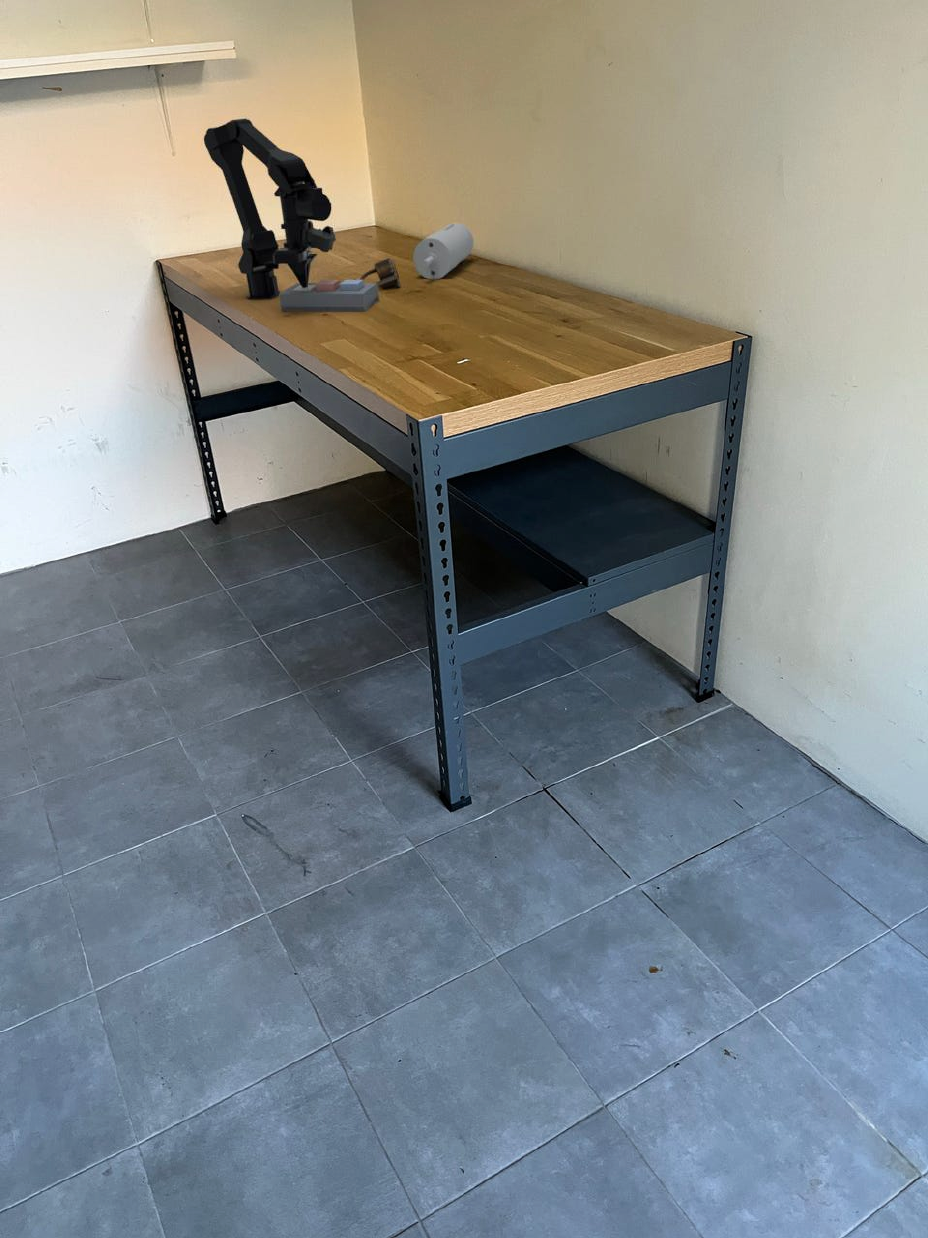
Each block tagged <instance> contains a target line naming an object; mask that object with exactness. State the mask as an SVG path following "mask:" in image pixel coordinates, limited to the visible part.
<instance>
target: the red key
mask: <svg viewBox="0 0 928 1238" xmlns="http://www.w3.org/2000/svg"><path fill="white" fill-rule="evenodd" d="M316 283H317V284H316V288H317V291H336V290H337V289H338V288H340V283H341V280H340V279H322V280H320V281H319V282H316Z"/></svg>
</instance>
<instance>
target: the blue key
mask: <svg viewBox="0 0 928 1238" xmlns="http://www.w3.org/2000/svg"><path fill="white" fill-rule="evenodd" d="M340 283H341V284H340V290H341V291H359V290H361V289H362V288H364V283H365V282H364V280H360V279H356V280H353V279H345V280H343V281H342V282H340Z"/></svg>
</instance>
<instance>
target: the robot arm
mask: <svg viewBox="0 0 928 1238" xmlns="http://www.w3.org/2000/svg"><path fill="white" fill-rule="evenodd" d="M203 143H204V146H205V148H206V150H207V153H208V155H209V157H210V159H211V161H212V162H214V164H216V166H217V167H218V168H219V169H220V170H221V172H222V174H223V176H224V179H225V182H226V185H227V188H228V190H229V194H230V196H231V199H232V202H233V205H234V208H235V211H236V213H237V214H236V215H237V218H238V220H239V222H240V225H241V229H242V232H243V233H242V238H241V242H240V244H241V249H242V255H241V256H240V259H239V261H238V264H237V266H238V270H239V272H240V273H241V274H244V275H246V281H247V288H248V293H249V294H248V295H247V297H246V299H248V300H249V299H250V300H251V299H254V300H259V299H260V300H261V299H265V300H266V299H267V300H270V299H272V298H274V297H276V296H277V295H279V294H280V293H281V292H280V290H279V285H278V278H277V276H276V275H275V272H274V271H275V270H278V269H279V266H280V265H281V264H282V265H288V267H289V269H290V270H291V272H292V273H293V274H294V276H295V278H296V279H297V281H298V283H300V284H301V286H302V287H303V288H306V287H308V283H309V281H310V280H309V278H310V271H311V264H312V263H313V261H314V260H315V258H317V256H318V253H312V250H311V249H317V250H320V252H323V253H328V252H329V251H330V250H331V251H332V250H333V246H334V242H336V241H337V238H336V234H335V233H334V228H333V227H331V226H329V225H326V226H324V227H323V228H316V227H314V223H313V221H318V222H324V221H326V220H327V219H329V218H330V216H331V214H332V202H331V201H330V198H329V197H328V196H327V195H326V194H324V193H323V188H322V187H318V185H317V183H316V180H315V179H314V177H312V175H311V173H310V171H309V169H308V167H307V165H306V163H305V161H304V160H303V159H302V158H301V157H300V156H298V155H296V154H294V153H293V152H289V151H286V150H282V149H281V148H279V147H278V146H277V145H276V144H275V143H273V142H272V140H270V139H269V138H268V137H267V136H266V135H265V134H264V133H263V132H261V131H260V130H259V129H258V128H257V127H256V126H255V125H253V122H252V121H251V120H250V119H248V118H237V119H231V120H230V121H228V122H226V123H225V124H222V125H220V126H215V127H210V128H208V129H207V130H206V131H205V134H204V136H203ZM244 148H245V149H246V150H248V151H249V153H251V154H252V155H253V156H254V158H256V159H258V160H259V161H260V162H261V163H262V164H263V165H264V166H265V168H266V169H267V175H268V176H269V178H270V179H271V180H272V181H273V182H274V184H275V185H276V186H277V187H278V188H277V189H276V190H275V192H274V193H273V195H274V197H279V198H280V206H281V212H282V219H283V220H282V221H283V222H282V223H281V224H280V228H281V230H284V233H285V242H283V247H280V246H279V244H278V242H277V240H276V239H277V238H276V235H275V232H274V231H273V230H272V229H269V230H268V229H267V228H266V227H265V226H264V225H263V222H262V220H261V217H260V214H259V211H258V208H257V205H256V201H255V199H254V196H253V193H252V191H251V187H250V185H249V181H248V178H247V175H246V172H245V170H244V169H245V168H244V166H243V158H244V153H245V149H244ZM279 247H280V248H279Z"/></svg>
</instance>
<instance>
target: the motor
mask: <svg viewBox="0 0 928 1238" xmlns="http://www.w3.org/2000/svg"><path fill="white" fill-rule="evenodd" d="M473 248H474V238H473V234H472V232H471V231H470V229H468V227H467V226H465V225H464V224H461V223H458V222H454V223H450V224H447V225H446V226H445V227H443V228H441V229H440V230H438V231H436V232H433V233H432V234H431V235H429V236H427V237H426V238H424V239H423V240H421V241H420V242H418V244H417V245H416V246H415V249H414V250H413V251H414V252H413V257H412V258H413V260H412V261H413V265H414V267H415V270H416V271H417V273H419V275H421V276H422V277H423V278H425V279H428V280H439V279H442V278H443V277H445V276H446V275H447V274H449V273H450V272H451V271H452V270H453V269H455V268H456V267H457V266H458V265H459V264H460V263H461V262H463V261H464V260H465V259H466V258H468V257H469V255H470V254H471V253H472V251H473Z"/></svg>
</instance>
